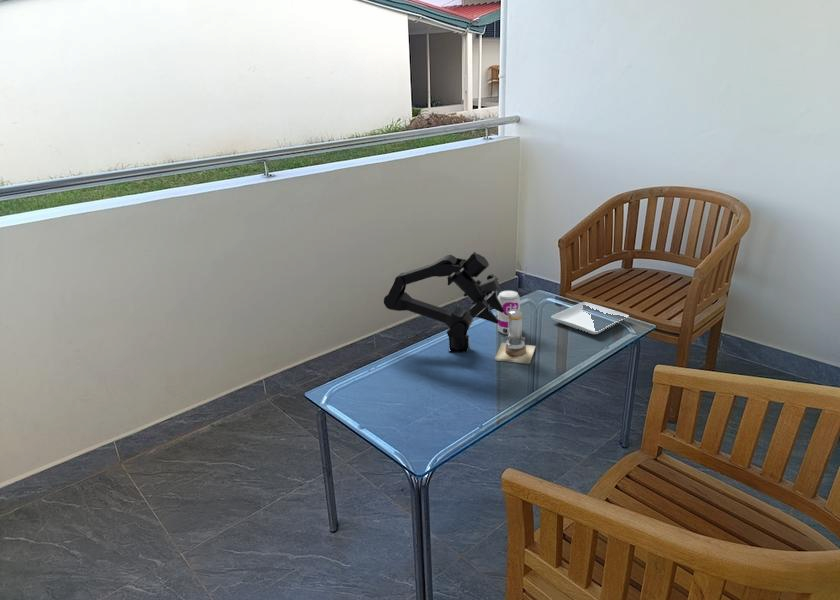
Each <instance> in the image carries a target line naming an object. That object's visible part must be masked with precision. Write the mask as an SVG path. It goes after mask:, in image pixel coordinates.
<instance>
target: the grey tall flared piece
mask: <svg viewBox="0 0 840 600" xmlns="http://www.w3.org/2000/svg"><path fill="white" fill-rule="evenodd" d="M522 319H523V312H522V310H521V309H520V310H518V309H512V310H509V311H508V333H509V335H505V340H506V341H505V343H506V348H507V349H509V350H521V349H523V348H524V347H525V345H526V344H525V343H526V342H525V341H526V337H525V336H523V329H522V328H523V327H522V326H523V323H522V322H523V320H522Z"/></svg>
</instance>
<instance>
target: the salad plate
mask: <svg viewBox="0 0 840 600" xmlns="http://www.w3.org/2000/svg"><path fill="white" fill-rule="evenodd" d="M583 305H586V306H589V307H590V308H591V309H592V308H593V309H594V310H596V309H597V310H599V311H600V312H603V313H604V314H606V313H608V314H611V315H612V314H613V315H620V316H624V317H626V318H627V319H629V317H630V315H629V314H627V313H624V312H621V311H618V310H613V309H610V308H608V307H604V306H601V305H598V304H594V303H591V302H587V301H582V302H579V303H577V304H575V305H573V306H571V307H568V308H565V309H564V310H562V311H560V312H557V313H554V314H552V315H551V319H552V321H553V320H554V321H555V322H557V323H560V324H561V325H565V326H567V327H569V328H573V329H576V330H578V329H579V330H578V331H581V330H582V331H581V332H584V331H585V332H584V333H587V332H588V334H591V335H598V334H600V333H602V332H604V331H606V330H608V329H610V328H612V327H614V326H615V324H616V323H618V322H620V321H622V320H623V319H621V320H619V321H616V322H614V323H612V324H610V325H608V326H606V327H605V328H603V329H601V330H599V331H595V328H594V323H593V321H594V320H592V319H591V314H590V315H589V314H588V313H586V312H583V311H582V309H583ZM624 319H625V318H624ZM620 323H621V322H620ZM618 324H619V323H618ZM613 325H614V326H613ZM616 325H617V324H616ZM611 326H612V327H611ZM609 327H610V328H609ZM607 328H608V329H607ZM605 329H606V330H605Z"/></svg>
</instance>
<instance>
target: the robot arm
mask: <svg viewBox="0 0 840 600" xmlns="http://www.w3.org/2000/svg"><path fill="white" fill-rule="evenodd" d="M489 266H490V264H489V262H488V260H487V258H486V257H484V256H483V255H481V254H479V253H477V252H476V251H474V252H472V253H471V254H470V256H469V257H468V258H467V259H465V258H464V259H463V258H461V257H459V258H458V257H456V256H454V255H453V254H447V255H445V256H443V257H441V258H439V259H438V260H436V261H434V262H433V263H431V264H427V265H424V266H421V267H419V268H414V269H411V270H409V271H406V272H401V273H399V274H397V276H396V277H395V278H394V282H393V285H392V286H391V288H390V289H389V292H388V293H387V294H386V295H385V296H384V299H383V304H384V307H385V308H386V309H387V310H390V311H396V312H403V311H404V312H405V311H408V312H410V313H414V314H417V315H420V316H422V317H426V318H428V319H431V320H435V321H437V322H441V323H443V324H445V325H446V326H447V327H448V329H447V330H446V335H447V337H448V342H449V343H448V346H449V347H448V349H449V348H450V350H451V351H453V352H452V353H468V350H469V348H470V335H468V330H469V329H470V327H471V325H472V324H473V322H474V318H475V319H477V318H478V319H482V320H486V321H488V322H490V323H493V324H497V325H498V322H499V321H498V317H496V315H495V314H494V312H493V311H492V310H491V309H490V307H491V308H492V309H494V310H496V311H497V312H498V311H499V312H501V313H503V312H504V309H503V307H502V305H501V304H500V302H499V300H498V288H499V286H500V283H499V281H498V280H499V278H498V277H497V276H496V275H494V274H493V273H491V274H488V275H487V276H486V279H485V280H484V281H481V280H480V279H477V280H476V279H475V278H478V277H479V276H480V275H481V274H482V273H483V272H484V271H485V270H486V269H487V268H488V267H489ZM432 277H433V278H434V277H436V278H437V277H438V278H441V277H443V278H444V277H447V278H446V279H447V286H450V285H451V284H452V283H454V285H456V286H457V287H458V288H459V289H460V290H461V291H462V292H463V297H465V298H466V297H468V298H469V299H470V300H471V304H472V306H470V308H469V311H468V309H462V308H461V307H458V306H455V307H454V309H453V310H449V309H445V308H443V307H439V306H438V305H434V304H430V303H427V302H424V301H422V300H420V299H415V298H413V297H411V296H410V294H408V293H407V292H406V289H407V285H409V284H414V283H416V282H420V281H423V280H425V279H429V278H432Z"/></svg>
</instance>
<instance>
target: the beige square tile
mask: <svg viewBox="0 0 840 600" xmlns="http://www.w3.org/2000/svg"><path fill="white" fill-rule="evenodd" d="M536 348H537V347H536V345H531V344H530V345H529V344H525V347H524V348H523V349H521V350H509V349H507V348H506V342H501V344H500V347H499V349H498V350H497V352H496V355H495V357H494V361H499V362H509V363H519V364H531V362H532V360H533V357H534V353H535V351H536Z"/></svg>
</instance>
